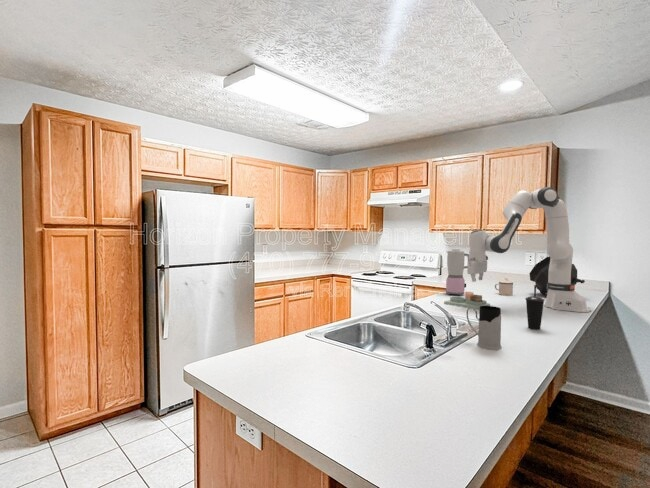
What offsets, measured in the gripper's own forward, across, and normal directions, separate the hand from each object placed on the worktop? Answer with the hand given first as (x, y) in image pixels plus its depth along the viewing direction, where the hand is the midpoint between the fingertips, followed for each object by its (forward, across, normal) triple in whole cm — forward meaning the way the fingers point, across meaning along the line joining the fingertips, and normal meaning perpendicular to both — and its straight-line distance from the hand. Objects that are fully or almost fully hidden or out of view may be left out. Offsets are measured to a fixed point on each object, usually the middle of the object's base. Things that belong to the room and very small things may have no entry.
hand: (477, 280), depth 210 cm
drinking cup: (+16, -28, -37) cm, 50 cm away
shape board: (+15, 0, +6) cm, 16 cm away
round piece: (+15, +17, +12) cm, 26 cm away
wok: (+16, +73, -24) cm, 79 cm away
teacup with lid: (+15, +55, +4) cm, 57 cm away
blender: (+15, +30, +26) cm, 42 cm away
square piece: (+14, 0, +1) cm, 14 cm away
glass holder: (+16, -69, -30) cm, 77 cm away
